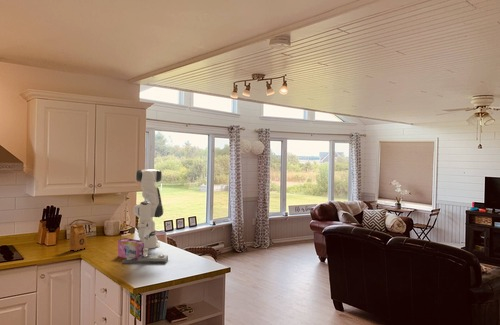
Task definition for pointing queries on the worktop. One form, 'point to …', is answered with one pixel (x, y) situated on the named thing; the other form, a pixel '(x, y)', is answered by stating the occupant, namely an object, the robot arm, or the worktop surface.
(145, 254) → the pin
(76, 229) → the coffee package
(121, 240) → the gum box
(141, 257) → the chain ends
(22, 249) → the worktop surface
